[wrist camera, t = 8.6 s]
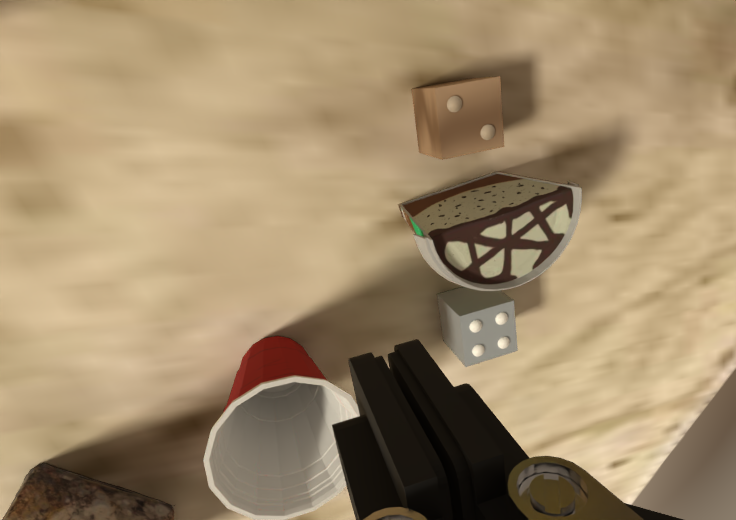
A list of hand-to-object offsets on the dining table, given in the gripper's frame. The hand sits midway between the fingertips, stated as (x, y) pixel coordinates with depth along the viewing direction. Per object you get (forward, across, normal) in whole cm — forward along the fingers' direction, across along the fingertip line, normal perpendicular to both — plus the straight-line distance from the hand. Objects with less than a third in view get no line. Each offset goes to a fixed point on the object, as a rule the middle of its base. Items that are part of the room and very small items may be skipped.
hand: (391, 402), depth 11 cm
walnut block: (+29, -14, -3) cm, 33 cm away
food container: (+29, -14, +6) cm, 33 cm away
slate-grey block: (+29, -14, +15) cm, 36 cm away
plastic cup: (+29, +4, +15) cm, 33 cm away
